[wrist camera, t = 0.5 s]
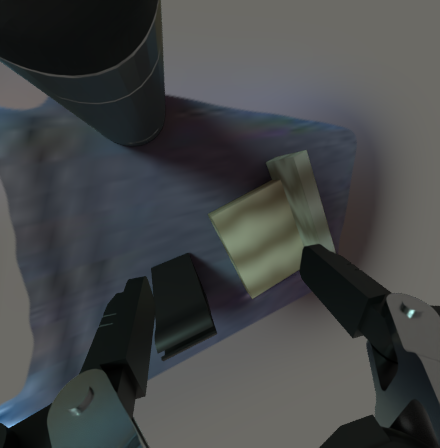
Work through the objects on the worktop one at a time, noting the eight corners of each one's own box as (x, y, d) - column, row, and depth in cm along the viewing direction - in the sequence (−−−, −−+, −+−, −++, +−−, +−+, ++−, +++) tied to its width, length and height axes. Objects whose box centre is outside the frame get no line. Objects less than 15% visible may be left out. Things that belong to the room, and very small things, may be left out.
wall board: (198, 196, 28) (208, 201, 22) (276, 157, 30) (306, 150, 24) (252, 302, 35) (272, 330, 28) (312, 264, 37) (344, 282, 30)
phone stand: (206, 297, 32) (227, 359, 21) (173, 312, 31) (176, 386, 20) (188, 251, 30) (201, 294, 18) (151, 266, 29) (140, 322, 17)
